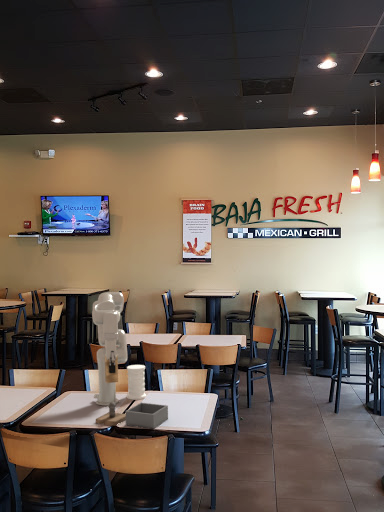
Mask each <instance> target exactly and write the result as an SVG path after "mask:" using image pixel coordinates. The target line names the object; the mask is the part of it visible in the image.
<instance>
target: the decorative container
mask: <svg viewBox="0 0 384 512" xmlns="http://www.w3.org/2000/svg"><path fill="white" fill-rule="evenodd" d="M145 369H146V366H145V365H144V364H131V365H128V366H126V370H127V383H128V384H127V387H128V389H127V391H128V394H127V395H126V399H128V400H131V401H134V400H135V401H137V399H139V400H143V398H144V399H146V398H147V394H146V393H145V391H146V388H145V385H146V383H145V380H146V379H145ZM145 397H146V398H145Z"/></svg>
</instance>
